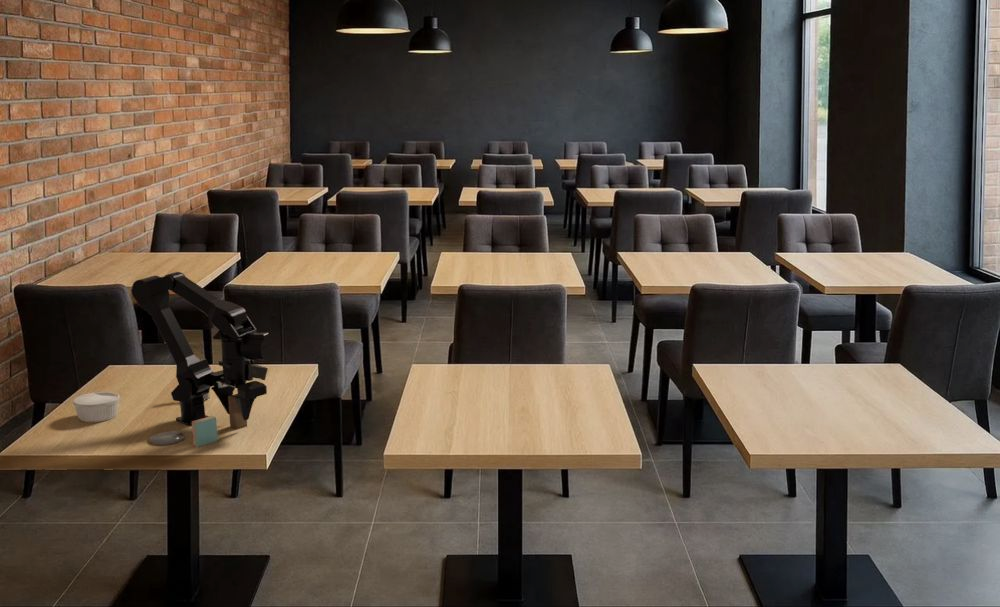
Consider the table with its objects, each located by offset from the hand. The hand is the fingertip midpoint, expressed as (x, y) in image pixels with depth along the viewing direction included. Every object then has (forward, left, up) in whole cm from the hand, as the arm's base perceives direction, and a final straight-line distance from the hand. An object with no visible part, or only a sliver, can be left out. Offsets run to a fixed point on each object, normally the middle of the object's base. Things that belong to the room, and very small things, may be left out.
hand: (237, 416), depth 261 cm
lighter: (-28, +5, -3) cm, 29 cm away
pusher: (0, 0, -3) cm, 3 cm away
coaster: (-5, -17, -2) cm, 18 cm away
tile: (+4, -12, -3) cm, 13 cm away
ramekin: (-34, -20, -3) cm, 40 cm away
